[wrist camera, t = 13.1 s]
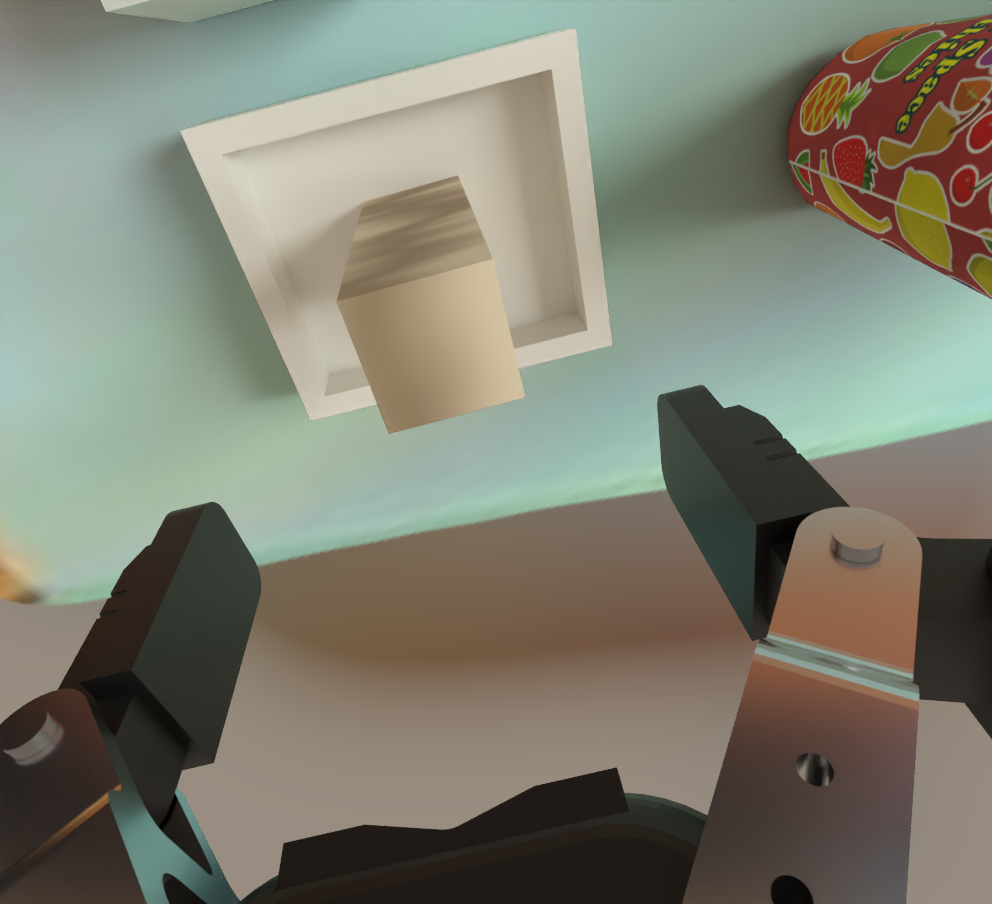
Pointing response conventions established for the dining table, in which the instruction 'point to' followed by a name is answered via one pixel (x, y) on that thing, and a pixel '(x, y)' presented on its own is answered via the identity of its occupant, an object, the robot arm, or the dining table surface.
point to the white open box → (178, 8)
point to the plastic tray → (408, 164)
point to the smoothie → (906, 143)
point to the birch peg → (427, 308)
